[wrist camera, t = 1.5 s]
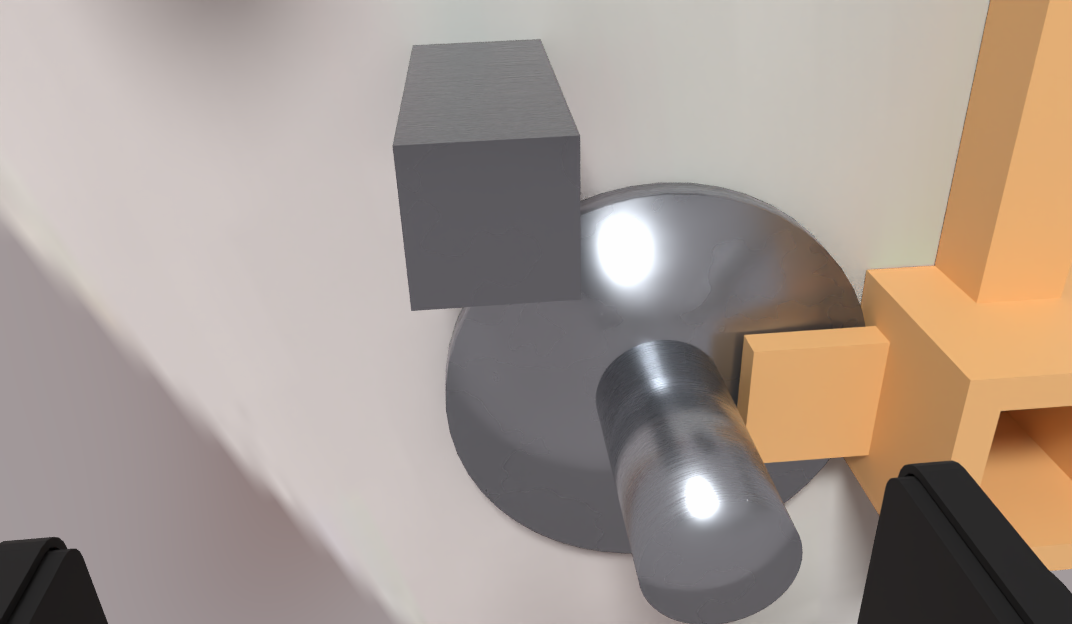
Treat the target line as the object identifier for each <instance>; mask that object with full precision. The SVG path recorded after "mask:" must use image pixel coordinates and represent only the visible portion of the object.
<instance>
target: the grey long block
mask: <svg viewBox="0 0 1072 624" xmlns="http://www.w3.org/2000/svg"><path fill="white" fill-rule="evenodd" d="M393 153H394V162H395V170H396V179H397V188H398V197H399V206H400V214H401V223H402V232H403V241H404V250H405V258H406V267H407V276H408V285H409V293H410V302H411V311H415V310H431V309H446V308H461V307H476V306H492V305H507V304H522V303H538V302H553V301H568V300H581V225H580V134H579V132H578V130H577V127H576V125H575V122H574V120H573V117H572V115H571V113H570V110H569V108H568V105H567V103H566V100H565V98H564V95H563V93H562V91H561V88H560V86H559V83H558V81H557V78H556V76H555V74H554V71H553V69H552V66H551V64H550V61H549V59H548V56H547V54H546V52H545V49H544V47H543V44H542V42H541V39H537V40H516V41H496V42H475V43H455V44H434V45H413V48H412V52H411V57H410V62H409V67H408V72H407V77H406V82H405V87H404V92H403V97H402V102H401V107H400V112H399V117H398V122H397V127H396V132H395V137H394V142H393Z"/></svg>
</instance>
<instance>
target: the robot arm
mask: <svg viewBox="0 0 1072 624" xmlns="http://www.w3.org/2000/svg"><path fill="white" fill-rule="evenodd" d="M0 624H108V622H107V620H106V617H105V615H104V612H103V609H102V607H101V604H100V601H99V599H98V596H97V593H96V591H95V588H94V585H93V583H92V580H91V577H90V575H89V572H88V569H87V567H86V564H85V561H84V559H83V556H82V555H81V553H80V551H78V550H77V549H67V547H66V545H65V543H64V542H63V541H62V540H61V539H60V538H57V537H49V538H37V539H26V540H14V541H3V542H1V543H0ZM857 624H1072V593H1071V592H1070V591H1069V590H1068V589H1067V587H1066V586H1065V585H1064V584H1063V583H1062V582H1061V581H1060V580H1059V579H1058V578H1057V577H1056V576H1055V575H1054V574H1052V573H1051V572H1050V571H1049V570H1048V569H1047V567H1046V566H1045V565H1044V564H1043V563H1042V561H1041V560H1040V559H1039V558H1038V557H1037V555H1036V554H1035V553H1034V552H1033V550H1032V549H1031V548H1030V547H1029V546H1028V544H1027V543H1026V542H1025V541H1024V540H1023V538H1022V537H1021V536H1020V535H1019V534H1018V532H1017V531H1016V530H1015V529H1014V527H1013V526H1012V525H1011V524H1010V523H1009V521H1008V520H1007V519H1006V518H1005V517H1004V515H1003V514H1002V513H1001V512H1000V510H999V509H998V508H997V507H996V506H995V504H994V503H993V502H992V501H991V500H990V498H989V497H988V496H987V495H986V494H985V492H984V491H983V490H982V489H981V487H980V486H979V485H978V484H977V483H976V481H975V480H974V479H973V478H972V477H971V475H970V474H969V473H968V472H967V471H966V469H965V468H964V467H963V466H962V465H961V464H959V463H958V462H956V461H953V460H951V461H939V462H927V463H915V464H907V465H904V466H903V467H902V469H901V470H900V472H899V475H898V477H897V478H891V479H889V480H888V482H887V484H886V487H885V492H884V496H883V501H882V506H881V511H880V516H879V521H878V526H877V531H876V535H875V540H874V545H873V550H872V555H871V560H870V565H869V570H868V574H867V579H866V584H865V589H864V594H863V599H862V604H861V609H860V613H859V618H858V623H857Z"/></svg>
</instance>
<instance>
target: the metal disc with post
mask: <svg viewBox="0 0 1072 624" xmlns="http://www.w3.org/2000/svg"><path fill="white" fill-rule="evenodd" d="M580 225H581V300H568V301H553V302H538V303H522V304H507V305H492V306H476V307H463V308H462V310H461V313H460V315H459V317H458V319H457V321H456V324H455V328H454V331H453V334H452V338H451V341H450V344H449V351H448V358H447V365H446V412H447V418H448V424H449V429H450V434H451V437H452V439H453V442H454V445H455V448H456V451H457V454H458V456H459V458H460V459H461V461H462V463H463V465H464V467H465V469H466V471H467V472H468V474H469V475H470V477H471V478H472V479H473V481H474V482H475V483H476V485H477V486H478V487H479V489H480V490H481V491H482V492H483V493H484V494H485V495H486V496H487V497H488V498H489V499H490V500H491V501H492V502H493V503H494V504H495V505H496V506H497V507H498V508H499V509H500V510H502V511H503V512H504V513H506V514H507V515H508V516H510V517H511V518H512V519H514V520H515V521H517V522H519V523H520V524H522V525H524V526H526V527H527V528H529V529H531V530H533V531H534V532H536V533H539V534H541V535H544V536H546V537H548V538H551V539H553V540H556V541H559V542H562V543H566V544H569V545H572V546H576V547H579V548H585V549H591V550H597V551H602V552H616V553H632V555H633V560H634V564H635V568H636V572H637V576H638V580H639V584H640V588H641V591H642V593H643V595H644V597H645V598H646V600H647V601H648V602H649V603H650V604H651V605H652V606H653V608H655V609H656V610H657V611H659V612H660V613H662V614H663V615H665V616H667V617H669V618H672V619H674V620H677V621H680V622H684V623H690V624H722V623H728V622H732V621H736V620H739V619H743V618H746V617H748V616H750V615H753V614H755V613H757V612H759V611H761V610H762V609H764V608H766V607H767V606H769V605H770V604H772V603H773V602H774V601H776V600H777V599H778V598H779V597H780V596H781V595H782V594H783V593H784V592H785V591H786V590H787V589H788V588H789V586H790V585H791V584H792V582H793V581H794V579H795V577H796V576H797V573H798V571H799V569H800V565H801V561H802V543H801V540H800V536H799V534H798V532H797V530H796V528H795V526H794V524H793V522H792V520H791V518H790V516H789V514H788V512H787V510H786V508H785V506H784V504H783V503H785V502H786V501H788V500H789V499H790V498H791V497H793V496H794V495H795V494H796V493H797V492H798V491H799V490H801V489H802V488H803V487H804V486H805V485H806V484H808V483H809V482H810V480H811V479H812V478H813V477H814V476H815V475H816V474H817V473H818V472H819V471H820V470H821V469H822V468H823V466H824V465H825V464H826V463H827V461H828V460H829V459H830V458H824V459H811V460H798V461H785V462H772V463H763V461H762V458H761V456H760V454H759V452H758V450H757V448H756V446H755V444H754V442H753V440H752V438H751V436H750V434H749V432H748V430H747V428H746V426H745V424H744V422H743V420H742V417H741V415H740V413H739V411H738V409H737V403H738V393H739V383H740V372H741V362H742V352H743V342H744V335H751V334H765V333H780V332H795V331H809V330H824V329H839V328H853V327H866V326H865V321H864V317H863V312H862V309H861V306H860V304H859V301H858V299H857V296H856V294H855V291H854V289H853V287H852V285H851V284H850V282H849V280H848V279H847V277H846V275H845V274H844V272H843V270H842V269H841V267H840V266H839V265H838V264H837V263H836V261H835V260H834V259H833V258H832V257H831V256H830V254H829V253H828V252H827V251H826V250H825V249H824V247H823V246H822V245H821V244H820V243H819V242H818V241H817V239H816V238H815V237H814V236H813V235H812V234H811V233H810V232H808V231H807V230H806V229H805V228H804V227H803V226H801V225H800V224H799V223H798V222H797V221H795V220H794V219H793V218H791V217H790V216H788V215H787V214H785V213H783V212H782V211H780V210H778V209H777V208H775V207H774V206H772V205H770V204H768V203H765V202H763V201H761V200H758V199H756V198H754V197H751V196H749V195H747V194H744V193H740V192H736V191H733V190H729V189H725V188H722V187H717V186H710V185H702V184H695V183H654V184H646V185H637V186H630V187H626V188H622V189H617V190H613V191H609V192H605V193H601V194H598V195H596V196H593V197H591V198H588V199H585V200H583V201H580Z"/></svg>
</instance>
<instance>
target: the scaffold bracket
mask: <svg viewBox="0 0 1072 624" xmlns="http://www.w3.org/2000/svg"><path fill="white" fill-rule="evenodd" d="M861 309H862V312H863V317H864V321H865V326H866V327H853V328H839V329H824V330H809V331H795V332H780V333H765V334H751V335H744V342H743V352H742V362H741V372H740V383H739V393H738V403H737V409H738V411H739V413H740V415H741V417H742V420H743V422H744V424H745V426H746V428H747V430H748V432H749V434H750V436H751V438H752V440H753V442H754V444H755V446H756V448H757V450H758V452H759V454H760V456H761V458H762V461H763V463H772V462H785V461H798V460H811V459H824V458H837V457H843V458H844V459H845V461H846V462H847V464H848V466H849V467H850V469H851V471H852V472H853V474H854V475H855V477H856V479H857V480H858V482H859V483H860V485H861V487H862V488H863V490H864V492H865V493H866V495H867V496H868V498H869V500H870V501H871V503H872V504H873V506H874V508H875V509H876V511H877V512H878V514H879V516H880V511H881V506H882V501H883V496H884V492H885V487H886V484H887V482H888V480H889V479H891V478H897V477H898V475H899V472H900V470H901V469H902V467H903V466H904V465H907V464H915V463H927V462H939V461H951V460H953V461H956V462H958V463H959V464H961V465H962V466H963V467H964V468H965V469H966V471H967V472H968V473H969V474H970V475H971V477H972V478H973V479H974V480H975V481H976V483H977V484H978V485H979V486H980V487H981V489H982V490H983V491H984V492H985V494H986V495H987V496H988V497H989V498H990V500H991V501H992V502H993V503H994V504H995V506H996V507H997V508H998V509H999V510H1000V512H1001V513H1002V514H1003V515H1004V517H1005V518H1006V519H1007V520H1008V521H1009V523H1010V524H1011V525H1012V526H1013V527H1014V529H1015V530H1016V531H1017V532H1018V534H1019V535H1020V536H1021V537H1022V538H1023V540H1024V541H1025V542H1026V543H1027V544H1028V546H1029V547H1030V548H1031V549H1032V550H1033V552H1034V553H1035V554H1036V555H1037V557H1038V558H1039V559H1040V560H1041V561H1042V563H1043V564H1044V565H1045V566H1046V567H1047V569H1048V570H1049V571H1053V570H1064V569H1072V0H990V5H989V10H988V14H987V19H986V24H985V29H984V33H983V38H982V43H981V48H980V52H979V57H978V62H977V67H976V72H975V76H974V81H973V86H972V91H971V95H970V100H969V105H968V110H967V114H966V119H965V124H964V129H963V133H962V138H961V143H960V148H959V152H958V157H957V162H956V167H955V171H954V176H953V181H952V186H951V190H950V195H949V200H948V205H947V210H946V214H945V219H944V224H943V229H942V233H941V238H940V243H939V248H938V252H937V257H936V262H935V266H920V267H905V268H889V269H874V270H867V271H866V277H865V283H864V289H863V295H862V301H861Z"/></svg>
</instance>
